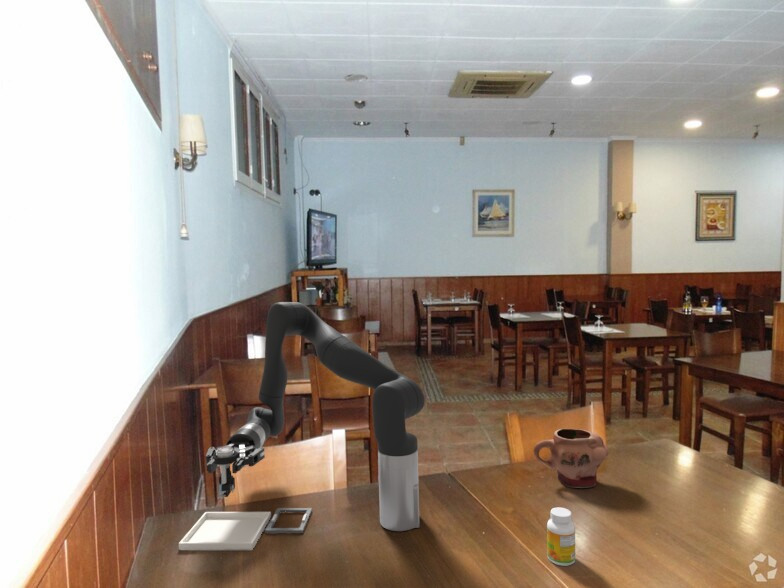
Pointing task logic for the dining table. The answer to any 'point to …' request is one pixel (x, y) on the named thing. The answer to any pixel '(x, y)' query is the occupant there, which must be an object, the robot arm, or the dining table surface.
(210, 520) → the tray
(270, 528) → the grey flat frame
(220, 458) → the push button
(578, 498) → the dining table surface
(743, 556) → the dining table surface
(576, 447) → the sculpted ceramic mug
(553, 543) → the supplement bottle
